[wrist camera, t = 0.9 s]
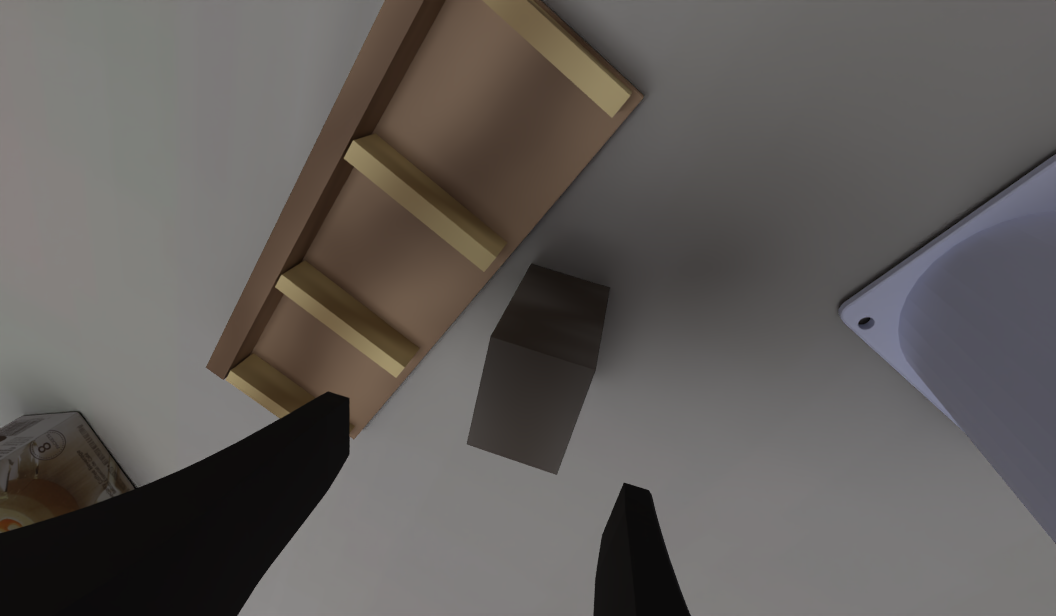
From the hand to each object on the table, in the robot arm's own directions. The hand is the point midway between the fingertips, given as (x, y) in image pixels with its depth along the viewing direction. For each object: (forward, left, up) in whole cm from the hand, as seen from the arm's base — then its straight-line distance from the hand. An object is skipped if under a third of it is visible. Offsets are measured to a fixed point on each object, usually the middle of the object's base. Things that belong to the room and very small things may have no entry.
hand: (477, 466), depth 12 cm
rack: (+6, +3, -10) cm, 12 cm away
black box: (-1, +1, -10) cm, 10 cm away
